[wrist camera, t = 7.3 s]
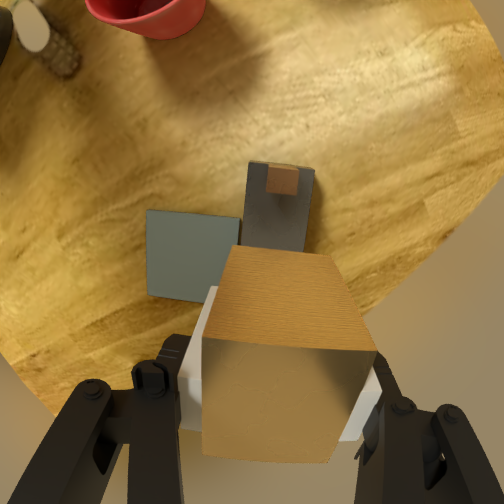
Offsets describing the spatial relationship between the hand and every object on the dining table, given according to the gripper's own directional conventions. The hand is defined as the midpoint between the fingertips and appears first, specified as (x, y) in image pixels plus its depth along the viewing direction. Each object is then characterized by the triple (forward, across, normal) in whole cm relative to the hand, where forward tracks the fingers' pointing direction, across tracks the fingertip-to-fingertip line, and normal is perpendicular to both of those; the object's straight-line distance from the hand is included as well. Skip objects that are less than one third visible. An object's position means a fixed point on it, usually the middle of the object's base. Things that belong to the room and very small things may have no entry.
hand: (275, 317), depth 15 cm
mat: (+18, -8, -5) cm, 21 cm away
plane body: (+18, 0, -5) cm, 19 cm away
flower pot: (+19, -13, +23) cm, 32 cm away
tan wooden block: (+2, 0, 0) cm, 2 cm away
